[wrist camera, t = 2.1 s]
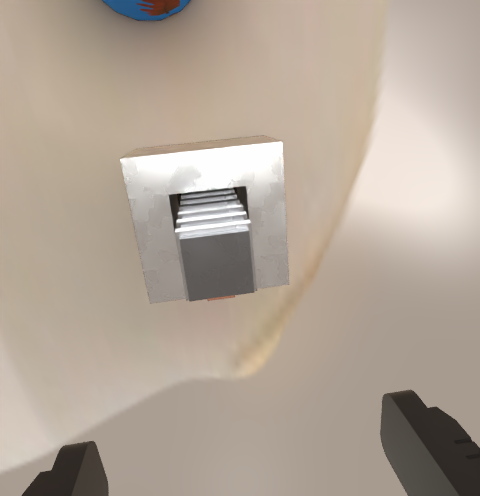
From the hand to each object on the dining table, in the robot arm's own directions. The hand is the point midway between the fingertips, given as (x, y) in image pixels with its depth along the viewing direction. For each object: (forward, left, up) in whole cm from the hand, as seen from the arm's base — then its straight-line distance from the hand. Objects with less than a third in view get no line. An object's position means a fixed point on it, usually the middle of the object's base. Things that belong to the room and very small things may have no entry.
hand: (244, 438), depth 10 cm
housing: (0, 0, -28) cm, 28 cm away
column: (0, 0, -28) cm, 28 cm away
